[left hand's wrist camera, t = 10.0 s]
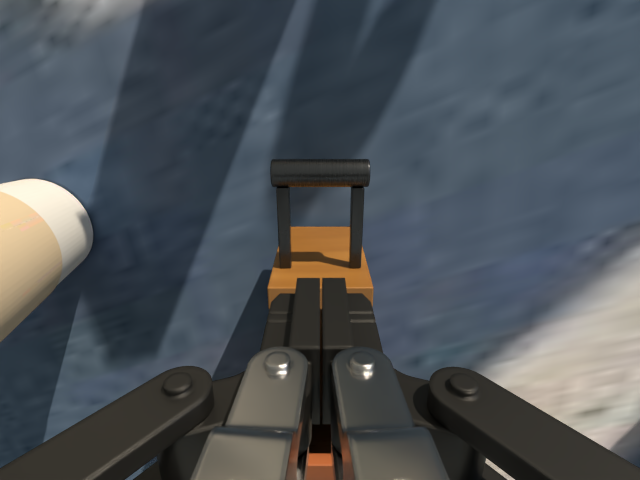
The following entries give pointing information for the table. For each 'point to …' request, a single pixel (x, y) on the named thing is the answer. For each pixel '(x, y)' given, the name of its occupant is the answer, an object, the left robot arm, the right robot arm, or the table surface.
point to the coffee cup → (37, 245)
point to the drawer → (320, 243)
